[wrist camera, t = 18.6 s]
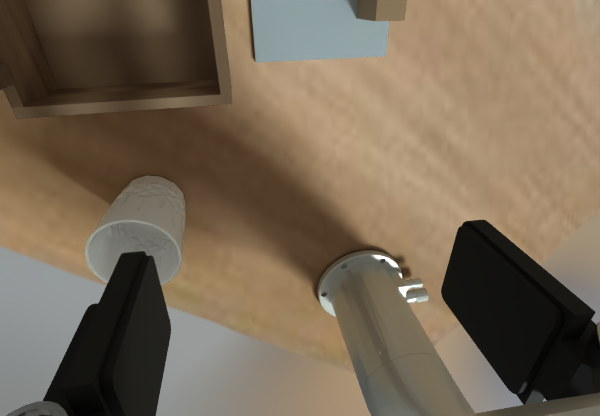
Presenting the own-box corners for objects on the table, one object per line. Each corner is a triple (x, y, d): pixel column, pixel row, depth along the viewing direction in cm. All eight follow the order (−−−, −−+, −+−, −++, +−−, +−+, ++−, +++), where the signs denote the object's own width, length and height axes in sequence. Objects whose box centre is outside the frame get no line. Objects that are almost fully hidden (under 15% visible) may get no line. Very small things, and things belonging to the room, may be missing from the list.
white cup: (205, 210, 41) (199, 265, 32) (149, 241, 42) (129, 303, 33) (160, 156, 37) (140, 204, 28) (99, 192, 38) (62, 249, 29)
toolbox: (212, -69, 28) (205, -102, 19) (231, 85, 34) (232, 118, 25) (-77, -69, 25) (-252, -108, 16) (1, 99, 31) (-94, 142, 22)
